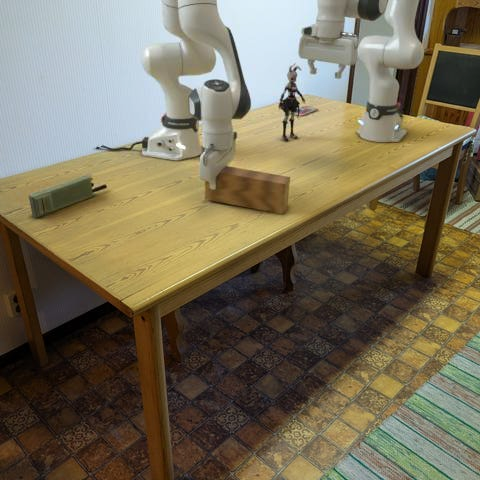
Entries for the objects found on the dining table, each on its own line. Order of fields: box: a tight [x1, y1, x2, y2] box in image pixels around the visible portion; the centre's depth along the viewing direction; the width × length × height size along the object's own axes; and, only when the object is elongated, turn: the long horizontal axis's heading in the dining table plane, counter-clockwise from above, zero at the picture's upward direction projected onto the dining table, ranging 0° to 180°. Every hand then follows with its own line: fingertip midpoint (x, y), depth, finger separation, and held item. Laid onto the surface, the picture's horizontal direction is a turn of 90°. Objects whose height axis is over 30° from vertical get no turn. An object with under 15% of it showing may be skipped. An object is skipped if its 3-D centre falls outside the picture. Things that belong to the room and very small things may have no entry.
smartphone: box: [290, 105, 318, 117], centre depth 242 cm, size 7×1×15 cm
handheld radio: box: [28, 173, 108, 219], centre depth 150 cm, size 7×3×25 cm
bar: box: [204, 165, 291, 215], centre depth 150 cm, size 24×6×10 cm, turn 71°
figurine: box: [278, 62, 306, 142], centre depth 199 cm, size 15×6×30 cm, turn 132°
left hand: (217, 184), depth 152 cm, fingers closed on bar, 6 cm apart
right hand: (325, 76), depth 165 cm, fingers open, 8 cm apart
